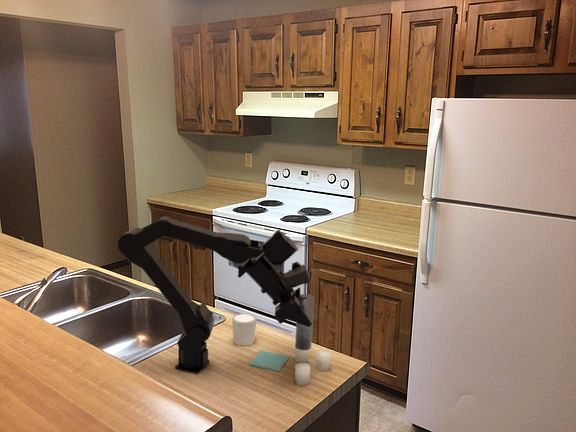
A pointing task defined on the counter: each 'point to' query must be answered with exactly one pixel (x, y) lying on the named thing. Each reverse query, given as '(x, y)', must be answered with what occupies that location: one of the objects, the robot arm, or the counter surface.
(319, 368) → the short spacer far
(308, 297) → the dark metallic domed cylinder
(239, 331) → the white cylinder
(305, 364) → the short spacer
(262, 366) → the teal pad
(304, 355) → the cylinder
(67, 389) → the counter surface
